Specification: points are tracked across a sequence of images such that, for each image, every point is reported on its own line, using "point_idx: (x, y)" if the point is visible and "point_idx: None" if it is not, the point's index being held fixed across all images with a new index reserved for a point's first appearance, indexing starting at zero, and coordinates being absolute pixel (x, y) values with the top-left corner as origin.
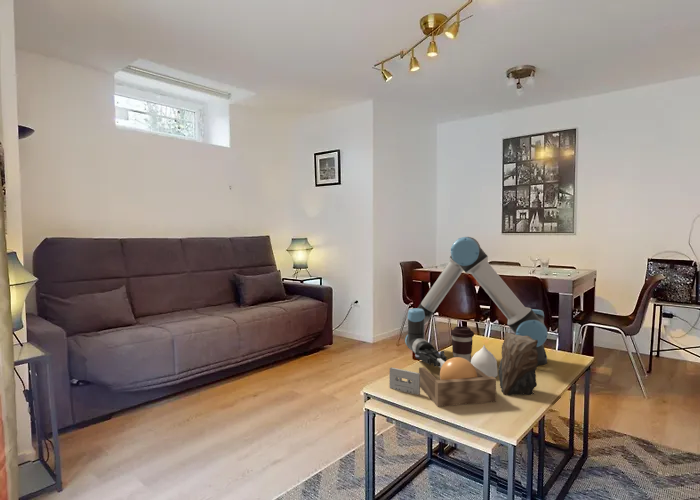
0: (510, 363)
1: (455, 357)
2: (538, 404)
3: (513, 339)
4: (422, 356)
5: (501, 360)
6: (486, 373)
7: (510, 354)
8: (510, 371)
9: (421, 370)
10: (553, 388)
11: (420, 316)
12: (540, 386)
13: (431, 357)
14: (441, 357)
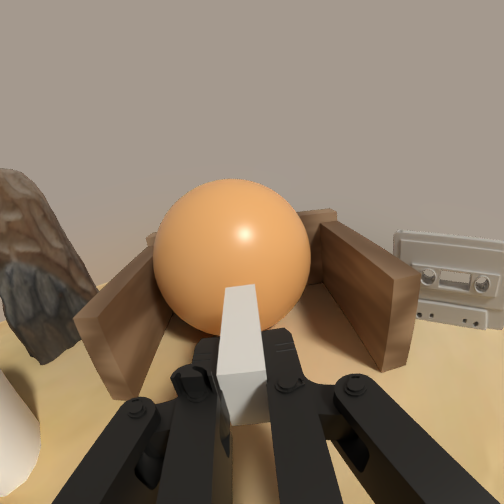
0: (63, 231)
1: (226, 181)
2: (98, 289)
3: (17, 173)
4: (466, 488)
5: (18, 269)
6: (16, 392)
7: (50, 208)
8: (75, 251)
9: (400, 262)
10: (4, 325)
11: None
12: (6, 334)
13: (327, 452)
14: (201, 369)
